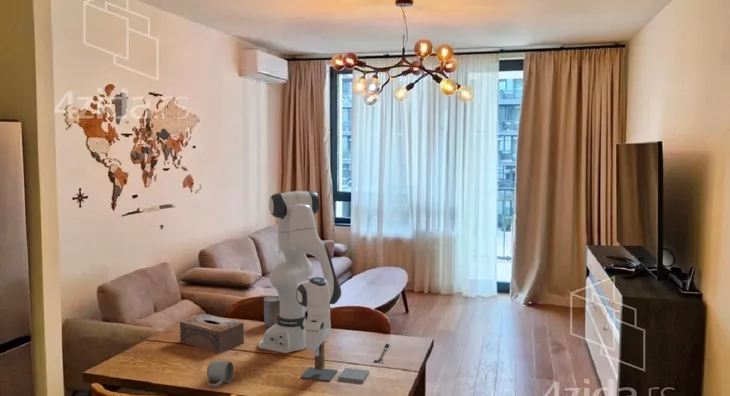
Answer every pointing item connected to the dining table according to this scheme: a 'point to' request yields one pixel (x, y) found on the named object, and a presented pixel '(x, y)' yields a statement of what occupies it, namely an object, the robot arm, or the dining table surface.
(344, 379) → the tile
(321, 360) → the wooden block
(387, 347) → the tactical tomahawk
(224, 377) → the ceramic mug
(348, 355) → the dining table surface
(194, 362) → the dining table surface
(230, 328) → the tissue box cover
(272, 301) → the pillar candle
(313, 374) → the mat
